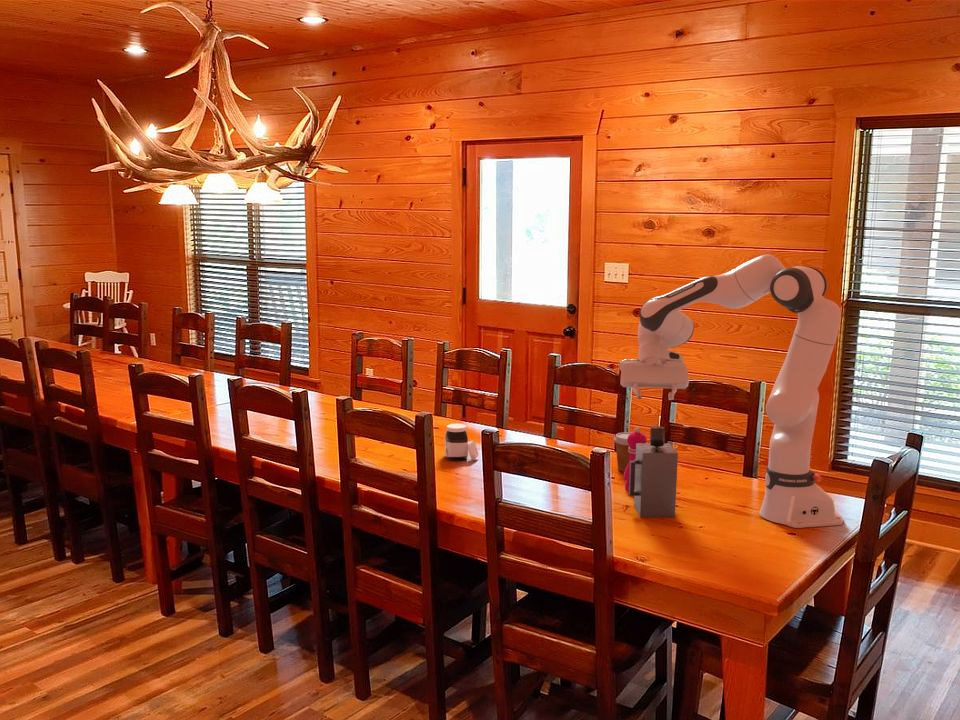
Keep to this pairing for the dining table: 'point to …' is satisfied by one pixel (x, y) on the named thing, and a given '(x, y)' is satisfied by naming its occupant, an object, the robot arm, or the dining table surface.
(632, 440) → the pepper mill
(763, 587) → the dining table surface
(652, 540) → the dining table surface
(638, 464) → the tall grey box
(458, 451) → the spread jar
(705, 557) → the dining table surface
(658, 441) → the press plunger
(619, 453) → the disposable coffee cup
